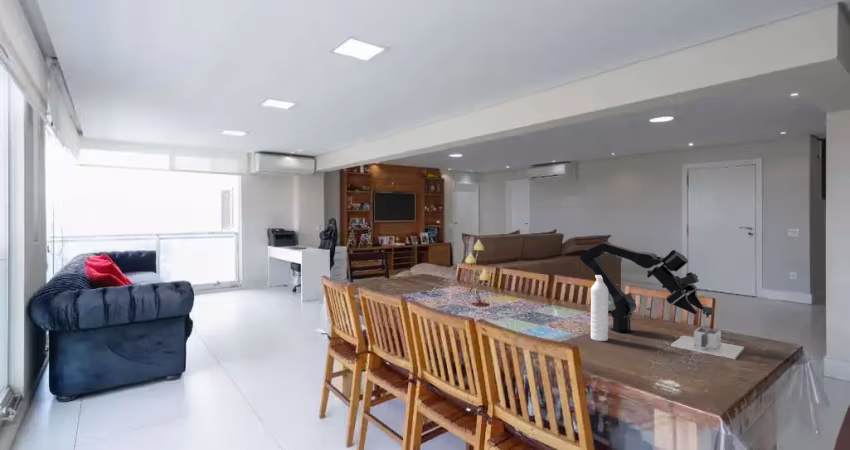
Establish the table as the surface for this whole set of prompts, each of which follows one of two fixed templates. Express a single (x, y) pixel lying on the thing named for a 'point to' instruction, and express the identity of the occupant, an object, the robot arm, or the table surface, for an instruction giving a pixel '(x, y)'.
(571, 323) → the table surface
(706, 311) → the plunger
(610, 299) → the air freshener
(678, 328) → the table surface
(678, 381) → the table surface
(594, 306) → the water bottle
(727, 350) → the white socket holder tray
